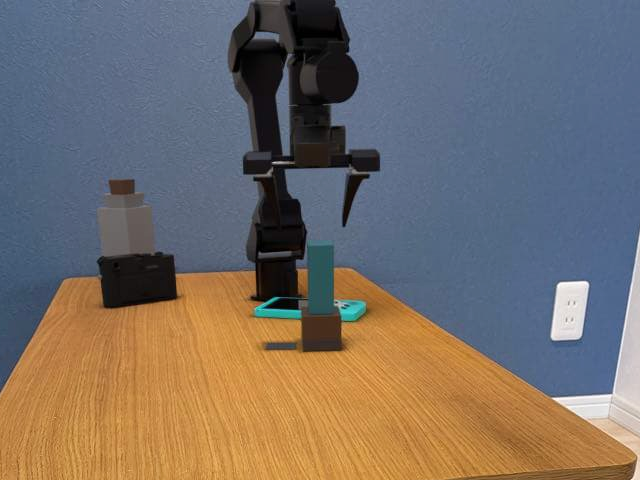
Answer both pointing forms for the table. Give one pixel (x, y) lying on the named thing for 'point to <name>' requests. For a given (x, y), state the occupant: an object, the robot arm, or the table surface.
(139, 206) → the perfume bottle
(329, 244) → the teal post in base
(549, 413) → the table surface
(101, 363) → the table surface
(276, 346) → the dark grey flat tile
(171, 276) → the camera
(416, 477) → the table surface
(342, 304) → the handheld game console
